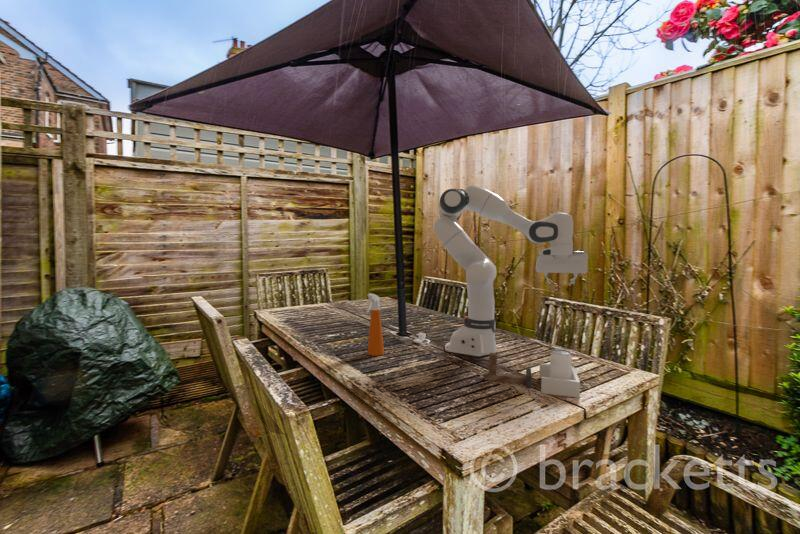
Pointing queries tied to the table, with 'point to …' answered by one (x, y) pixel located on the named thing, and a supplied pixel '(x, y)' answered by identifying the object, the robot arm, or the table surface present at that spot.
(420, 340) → the teacup and saucer
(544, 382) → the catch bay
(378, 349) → the spray bottle
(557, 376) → the can
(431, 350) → the table surface
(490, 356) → the brown l-shaped rod
